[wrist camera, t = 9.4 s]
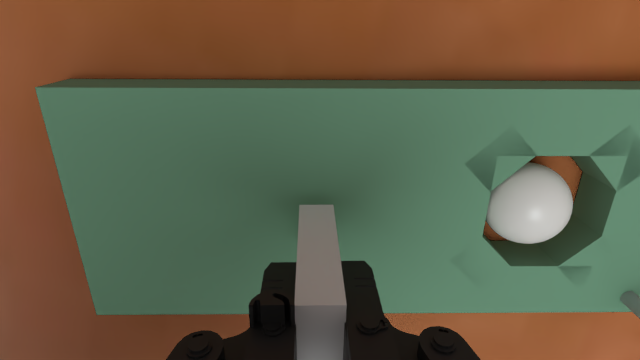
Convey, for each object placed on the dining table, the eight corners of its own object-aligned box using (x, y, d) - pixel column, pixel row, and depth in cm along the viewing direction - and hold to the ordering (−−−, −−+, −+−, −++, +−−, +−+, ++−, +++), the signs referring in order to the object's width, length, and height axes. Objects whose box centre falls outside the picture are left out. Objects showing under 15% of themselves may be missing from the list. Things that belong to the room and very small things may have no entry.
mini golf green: (118, 285, 23) (-129, 622, 10) (69, 78, 19) (-493, 218, 6) (616, 283, 24) (982, 603, 11) (689, 81, 19) (1486, 214, 6)
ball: (535, 270, 17) (578, 242, 19) (554, 187, 16) (598, 167, 18) (460, 233, 20) (503, 213, 23) (469, 161, 19) (515, 147, 21)
